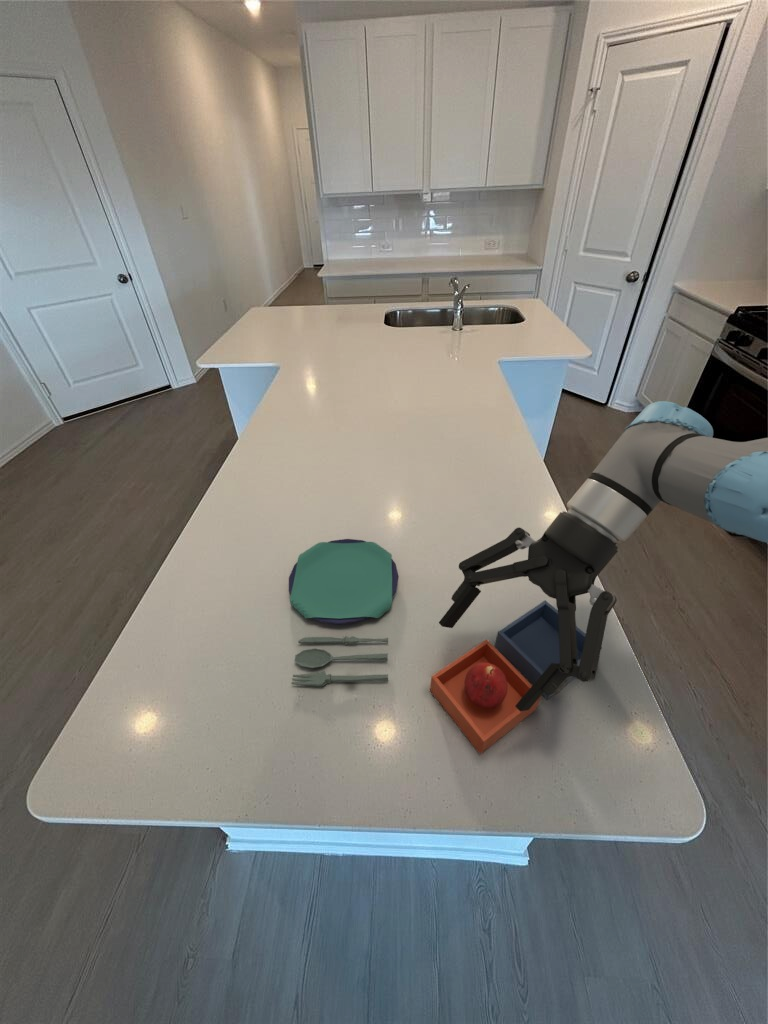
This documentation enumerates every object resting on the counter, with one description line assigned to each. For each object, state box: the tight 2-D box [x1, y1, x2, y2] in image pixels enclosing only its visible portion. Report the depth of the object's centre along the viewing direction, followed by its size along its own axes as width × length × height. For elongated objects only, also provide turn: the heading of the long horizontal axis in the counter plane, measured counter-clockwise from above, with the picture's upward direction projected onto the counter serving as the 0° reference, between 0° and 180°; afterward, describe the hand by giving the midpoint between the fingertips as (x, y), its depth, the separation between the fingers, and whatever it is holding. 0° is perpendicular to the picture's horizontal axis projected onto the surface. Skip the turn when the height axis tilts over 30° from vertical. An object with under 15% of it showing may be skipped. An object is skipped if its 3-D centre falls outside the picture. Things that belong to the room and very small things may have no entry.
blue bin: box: [494, 600, 603, 701], centre depth 67 cm, size 11×11×4 cm
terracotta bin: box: [429, 639, 543, 755], centre depth 62 cm, size 11×11×4 cm
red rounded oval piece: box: [464, 663, 508, 709], centre depth 61 cm, size 6×6×8 cm
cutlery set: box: [288, 538, 400, 687], centre depth 76 cm, size 20×30×2 cm, turn 0°
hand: (480, 663), depth 55 cm, fingers open, 13 cm apart
